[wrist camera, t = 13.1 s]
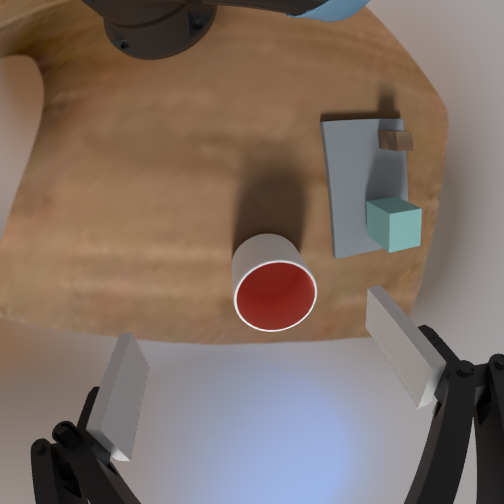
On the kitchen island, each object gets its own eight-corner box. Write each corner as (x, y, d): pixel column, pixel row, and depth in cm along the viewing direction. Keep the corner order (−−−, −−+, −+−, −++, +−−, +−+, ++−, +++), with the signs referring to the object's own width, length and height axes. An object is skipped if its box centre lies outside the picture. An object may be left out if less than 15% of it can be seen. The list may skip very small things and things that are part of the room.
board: (319, 122, 36) (322, 121, 35) (398, 118, 36) (402, 118, 35) (332, 255, 44) (335, 258, 43) (402, 240, 44) (406, 243, 43)
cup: (274, 217, 41) (290, 242, 32) (309, 268, 45) (330, 303, 35) (217, 256, 42) (216, 292, 33) (256, 303, 46) (264, 344, 37)
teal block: (367, 235, 41) (389, 252, 35) (366, 201, 39) (389, 214, 33) (396, 229, 41) (419, 245, 35) (396, 196, 39) (421, 208, 33)
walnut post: (377, 130, 36) (395, 131, 31) (392, 130, 36) (411, 131, 31) (379, 148, 37) (397, 151, 32) (393, 147, 37) (413, 150, 32)
